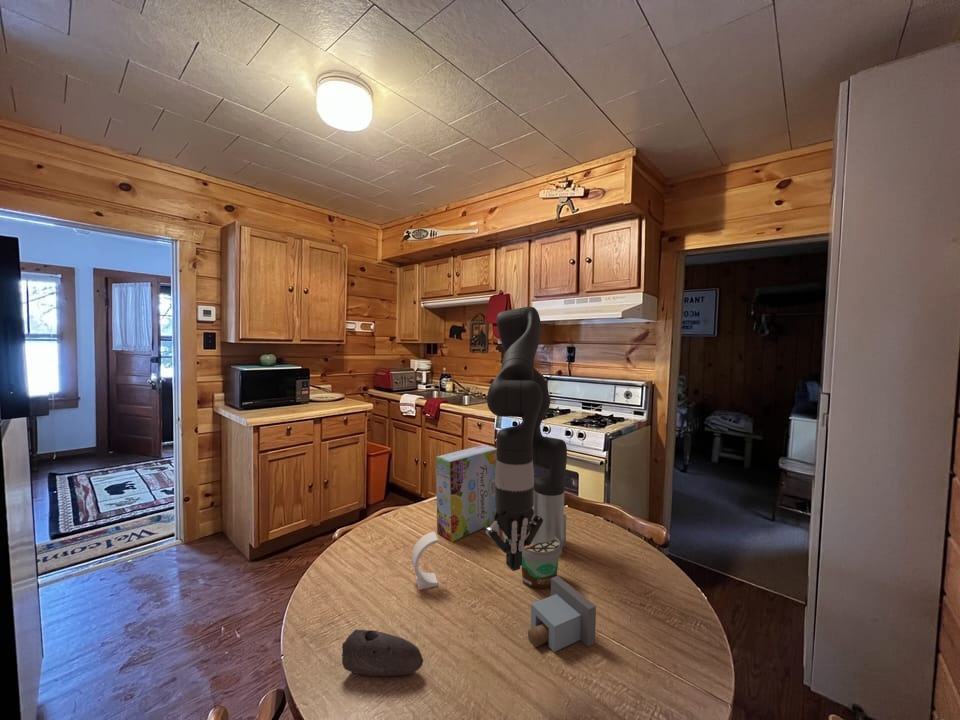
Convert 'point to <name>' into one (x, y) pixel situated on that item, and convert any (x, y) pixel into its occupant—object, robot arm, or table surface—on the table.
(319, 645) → the table surface
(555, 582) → the backstop wall
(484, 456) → the snack box
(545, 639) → the dowel
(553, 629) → the block
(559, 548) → the ice cream tub
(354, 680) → the table surface
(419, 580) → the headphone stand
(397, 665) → the perforated stone tool
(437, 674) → the table surface
